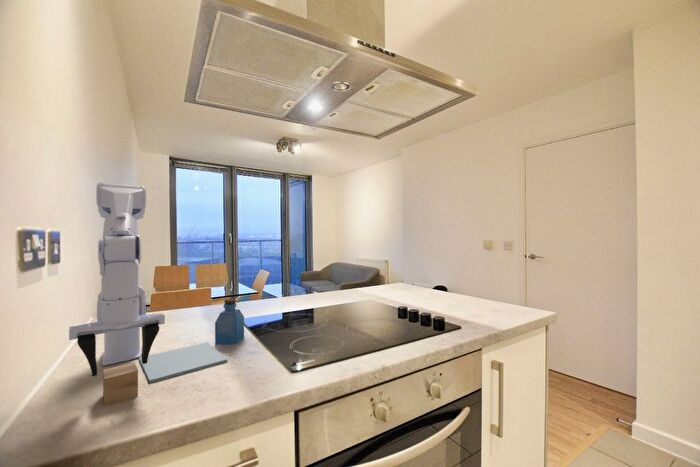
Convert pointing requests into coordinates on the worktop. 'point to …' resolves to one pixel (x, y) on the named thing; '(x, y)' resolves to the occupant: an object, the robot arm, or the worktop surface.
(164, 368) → the slate board
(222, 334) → the perfume bottle
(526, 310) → the worktop surface
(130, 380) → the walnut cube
